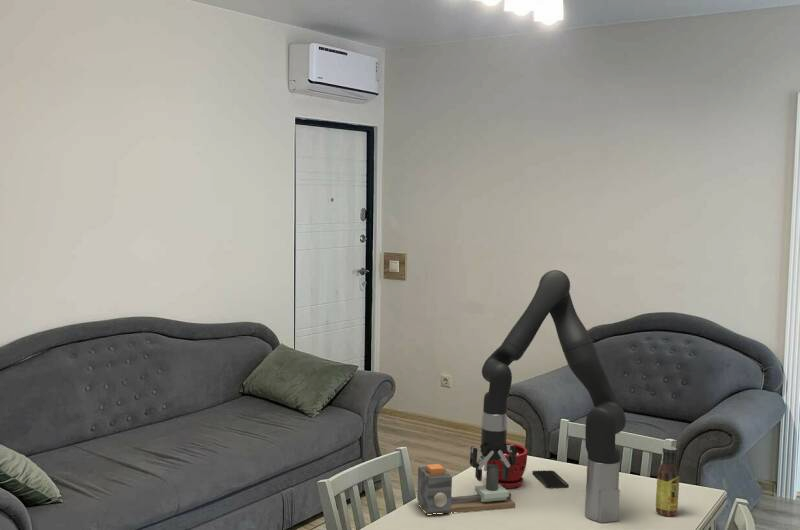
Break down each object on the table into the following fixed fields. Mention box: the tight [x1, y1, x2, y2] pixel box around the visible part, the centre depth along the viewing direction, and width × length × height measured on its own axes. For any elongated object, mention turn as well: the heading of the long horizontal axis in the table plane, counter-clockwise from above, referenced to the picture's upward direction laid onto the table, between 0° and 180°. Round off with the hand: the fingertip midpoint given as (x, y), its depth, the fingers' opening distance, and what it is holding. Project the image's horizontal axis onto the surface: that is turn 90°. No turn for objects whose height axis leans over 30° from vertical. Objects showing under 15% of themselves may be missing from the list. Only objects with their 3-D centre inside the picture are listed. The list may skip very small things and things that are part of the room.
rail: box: [417, 466, 516, 514], centre depth 244 cm, size 11×28×12 cm, turn 107°
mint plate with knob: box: [474, 464, 510, 502], centre depth 247 cm, size 7×8×10 cm
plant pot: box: [487, 442, 528, 489], centre depth 266 cm, size 13×13×12 cm
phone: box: [532, 470, 570, 490], centre depth 271 cm, size 8×1×15 cm
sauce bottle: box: [655, 445, 680, 517], centre depth 244 cm, size 7×6×20 cm
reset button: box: [425, 463, 445, 475], centre depth 241 cm, size 4×4×3 cm
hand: (492, 479), depth 247 cm, fingers open, 8 cm apart
